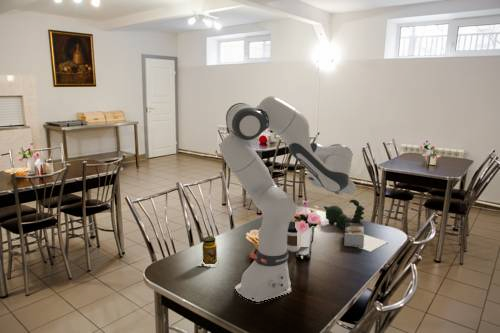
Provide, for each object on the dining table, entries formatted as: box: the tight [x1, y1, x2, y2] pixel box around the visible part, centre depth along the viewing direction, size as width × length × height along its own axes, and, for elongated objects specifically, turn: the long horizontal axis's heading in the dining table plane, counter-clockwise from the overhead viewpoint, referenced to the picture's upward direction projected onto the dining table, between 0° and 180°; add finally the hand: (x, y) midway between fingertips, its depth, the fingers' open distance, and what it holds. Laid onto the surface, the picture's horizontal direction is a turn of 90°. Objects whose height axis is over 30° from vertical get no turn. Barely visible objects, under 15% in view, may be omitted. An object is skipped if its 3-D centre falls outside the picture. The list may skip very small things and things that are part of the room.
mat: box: [357, 234, 389, 253], centre depth 182 cm, size 16×13×1 cm
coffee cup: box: [287, 221, 298, 253], centre depth 175 cm, size 11×11×12 cm
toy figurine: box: [323, 199, 365, 232], centre depth 201 cm, size 9×19×25 cm
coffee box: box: [343, 222, 365, 248], centre depth 184 cm, size 9×6×16 cm
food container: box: [311, 225, 317, 243], centre depth 186 cm, size 12×6×10 cm, turn 179°
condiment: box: [202, 235, 218, 264], centre depth 161 cm, size 7×8×12 cm
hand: (339, 193), depth 157 cm, fingers closed
